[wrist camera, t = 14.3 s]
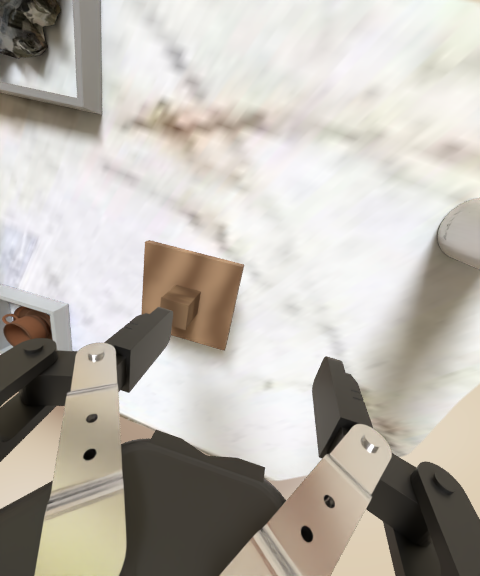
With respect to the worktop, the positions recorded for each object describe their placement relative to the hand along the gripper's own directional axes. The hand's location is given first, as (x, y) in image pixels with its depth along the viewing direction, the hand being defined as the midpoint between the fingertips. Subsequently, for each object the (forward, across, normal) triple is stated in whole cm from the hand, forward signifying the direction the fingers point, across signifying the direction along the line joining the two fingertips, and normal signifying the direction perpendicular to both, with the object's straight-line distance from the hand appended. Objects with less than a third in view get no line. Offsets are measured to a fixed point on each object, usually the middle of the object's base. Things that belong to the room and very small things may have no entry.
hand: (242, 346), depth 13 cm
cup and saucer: (+34, +51, +36) cm, 71 cm away
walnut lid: (+24, +11, +11) cm, 28 cm away
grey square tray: (+33, +52, +36) cm, 71 cm away
